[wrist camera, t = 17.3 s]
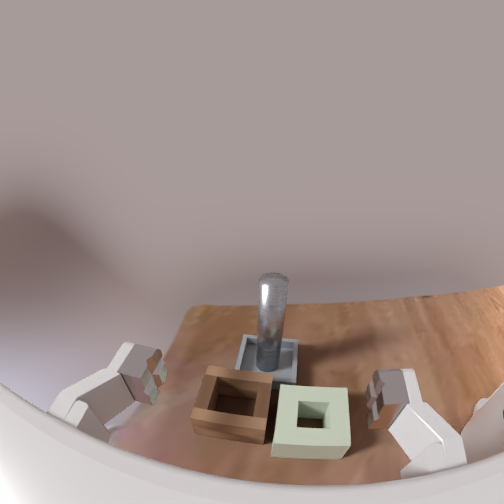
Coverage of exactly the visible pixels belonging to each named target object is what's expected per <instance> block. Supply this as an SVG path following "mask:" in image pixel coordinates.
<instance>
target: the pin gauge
mask: <svg viewBox="0 0 504 504" xmlns="http://www.w3.org/2000/svg"><path fill="white" fill-rule="evenodd" d="M288 281H289V280H288V278H287V277H286V276H285V275H283V274H280V273H274V272H273V273H272V272H271V273H266V274H263V275H262V276H261V277H260V279H259V301H258V326H257V350H256V366H257V368H258V369H259V370H261V371H263V372H273V371H275V370H276V369H277V368H278V366H279V360H280V353H281V345H282V336H283V328H284V319H285V310H286V301H287V291H288Z"/></svg>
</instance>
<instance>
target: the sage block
mask: <svg viewBox="0 0 504 504" xmlns="http://www.w3.org/2000/svg"><path fill="white" fill-rule="evenodd" d="M297 418H312V419H323V428H301V427H297ZM350 446H351V436H350V418H349V404H348V392H347V388H331V387H310V386H295V385H283V384H280V390H279V396H278V403H277V411H276V419H275V427H274V435H273V443H272V450H271V456H272V457H284V458H301V459H341V458H342V457H343V456H344V454H345V453H346V452H347V450H348V449H349V448H350Z"/></svg>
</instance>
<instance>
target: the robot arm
mask: <svg viewBox="0 0 504 504" xmlns="http://www.w3.org/2000/svg"><path fill="white" fill-rule="evenodd" d="M161 357H162V353H161V351H160V350H159V349H155V348H151V347H147V346H143V345H139V344H134V343H130V342H125V343H123V344H122V346H121V347H120V349H119V351H118V352H117V354H116V355H115V357H114V358H113V360H112V361H111V363H110V365H109V366H108V368H107V369H102V370H100V371H98V372H96V373H95V374H92V375H91V376H89V377H87V378H85V379H83V380H81V381H79V382H77V383H75V384H74V385H72V386H70V387H68V388H66V389H64V390H62V391H61V392H60V394H59V395H58V397H57V398H56V400H55V401H54V403H53V404H52V406H51V407H50V409H49V411H48V412H47V413H46V412H44V411H43V410H41V409H39V408H38V407H36V406H34V405H33V404H31V403H29V402H28V401H26V400H25V399H23V398H22V397H20V396H19V395H17V394H16V393H14V392H13V391H11V390H10V389H9V388H7V387H6V386H4V385H3V384H2V383H0V504H504V382H503V383H502V384H501V386H500V387H499V388H498V389H497V390H496V391H495V392H494V393H493V394H492V395H491V396H490V397H489V398H482V399H480V400H479V401H478V402H477V403H476V405H475V408H474V412H473V416H472V417H471V419H470V420H469V421H468V423H467V424H466V425H465V427H464V428H463V430H462V432H461V435H459V434H458V433H457V432H456V431H455V430H454V429H453V428H452V427H451V426H450V425H449V424H448V423H447V422H446V421H445V420H444V419H443V418H442V417H441V416H440V415H439V414H438V413H437V412H436V411H435V410H434V409H433V408H432V407H431V406H430V405H428V404H427V403H426V402H423V401H422V397H421V393H420V390H419V386H418V382H417V379H416V375H415V372H414V370H413V369H388V370H376V371H375V372H374V374H373V381H372V382H370V383H369V385H368V387H367V391H366V406H367V407H368V408H369V409H370V411H369V413H368V414H367V419H368V429H388V430H389V431H390V432H391V434H392V435H393V436H394V438H395V439H396V441H397V442H398V443H399V445H400V446H401V447H402V449H403V450H404V452H405V453H406V454H407V456H408V457H409V458H410V460H411V462H409V463H408V464H407V465H406V466H405V467H404V468H403V469H402V470H401V471H400V476H401V480H394V481H387V482H378V483H368V484H355V485H329V486H313V485H287V484H274V483H264V482H255V481H247V480H240V479H233V478H227V477H222V476H217V475H211V474H207V473H202V472H197V471H193V470H189V469H185V468H181V467H177V466H174V465H170V464H167V463H163V462H160V461H157V460H153V459H150V458H147V457H144V456H141V455H138V454H135V453H133V452H130V451H127V450H124V449H122V448H119V447H117V446H114V445H112V444H109V443H108V441H109V439H110V437H111V435H110V432H109V431H108V430H107V429H106V427H105V426H104V424H105V423H107V422H108V421H109V420H111V419H112V418H114V417H115V416H116V415H117V414H119V413H120V412H122V411H123V410H124V409H126V408H127V407H128V406H130V405H131V404H132V403H134V402H135V401H139V402H143V403H146V404H150V405H154V402H155V400H156V398H157V396H158V394H159V391H158V387H159V386H161V385H162V384H163V383H164V380H165V377H166V365H165V362H163V361H162V360H161Z"/></svg>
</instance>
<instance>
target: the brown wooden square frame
mask: <svg viewBox="0 0 504 504" xmlns="http://www.w3.org/2000/svg"><path fill="white" fill-rule="evenodd" d="M272 380H273V374H270V373H260V372H252V371H244V370H237V369H230V368H223V367H217V366H210V365H208V367H207V370H206V373H205V376H204V379H203V382H202V384H201V387H200V390H199V393H198V396H197V399H196V402H195V405H194V408H193V411H192V414H191V416H190V419H191V422H192V426H193V429H194V432H195V433H196V434H201V435H205V436H210V437H216V438H221V439H227V440H233V441H240V442H247V443H255V444H264V437H265V430H266V424H267V417H268V410H269V403H270V396H271V388H272ZM219 394H220V395H226V396H233V397H240V398H247V399H255V400H256V403H255V408H254V414H253V417H250V416H243V415H236V414H229V413H223V412H217V411H215V407H216V404H217V400H218V397H219Z"/></svg>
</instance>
